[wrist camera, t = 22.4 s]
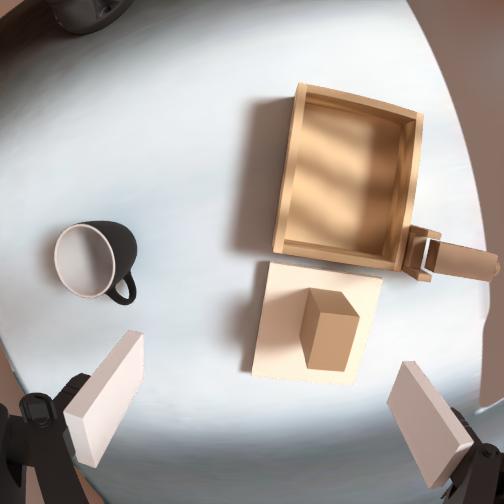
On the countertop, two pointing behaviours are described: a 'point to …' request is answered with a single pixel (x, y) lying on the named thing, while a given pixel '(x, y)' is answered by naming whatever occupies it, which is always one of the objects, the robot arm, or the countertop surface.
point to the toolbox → (351, 183)
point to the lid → (314, 323)
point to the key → (461, 261)
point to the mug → (96, 259)
